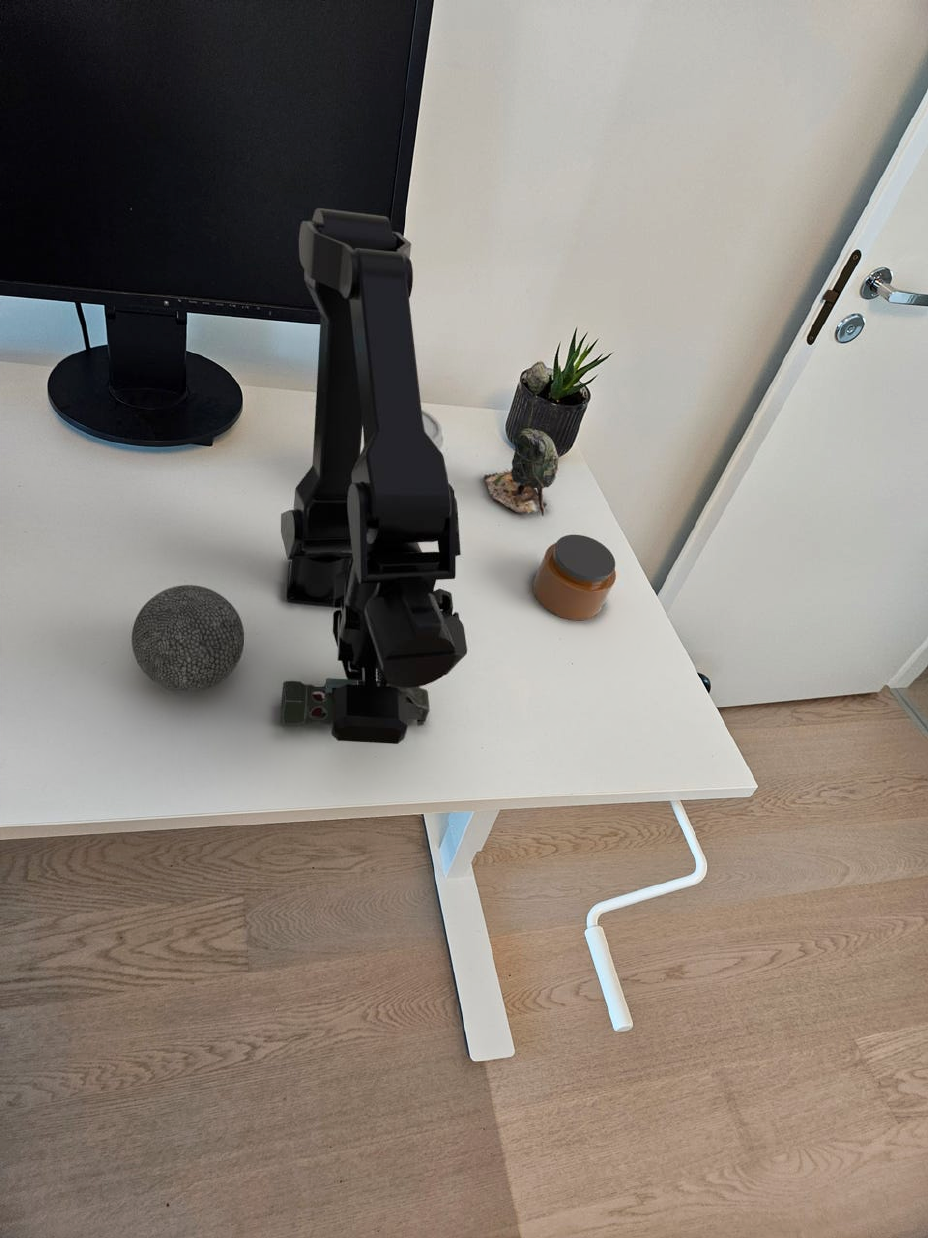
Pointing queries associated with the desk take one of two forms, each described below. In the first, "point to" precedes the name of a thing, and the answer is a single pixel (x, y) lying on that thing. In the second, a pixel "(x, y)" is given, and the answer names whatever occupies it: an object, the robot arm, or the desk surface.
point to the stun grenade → (305, 704)
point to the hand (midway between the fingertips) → (354, 707)
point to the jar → (575, 577)
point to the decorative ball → (187, 638)
